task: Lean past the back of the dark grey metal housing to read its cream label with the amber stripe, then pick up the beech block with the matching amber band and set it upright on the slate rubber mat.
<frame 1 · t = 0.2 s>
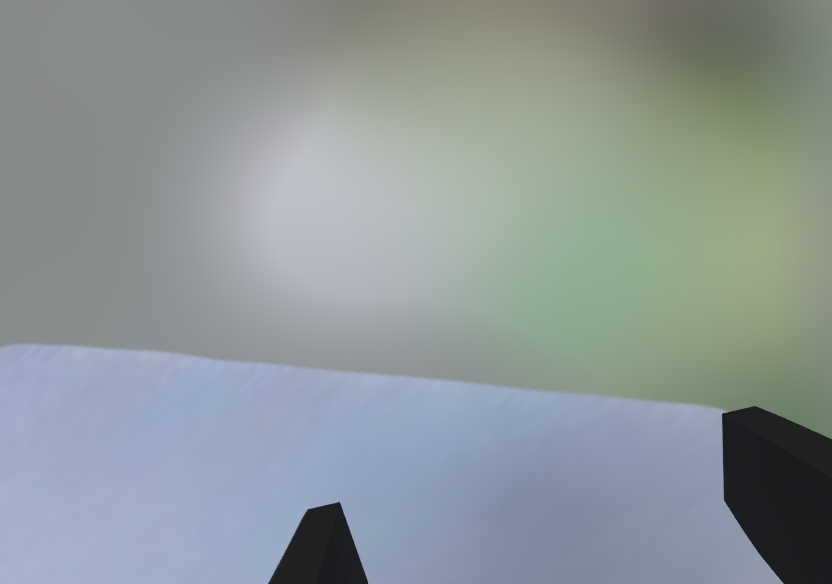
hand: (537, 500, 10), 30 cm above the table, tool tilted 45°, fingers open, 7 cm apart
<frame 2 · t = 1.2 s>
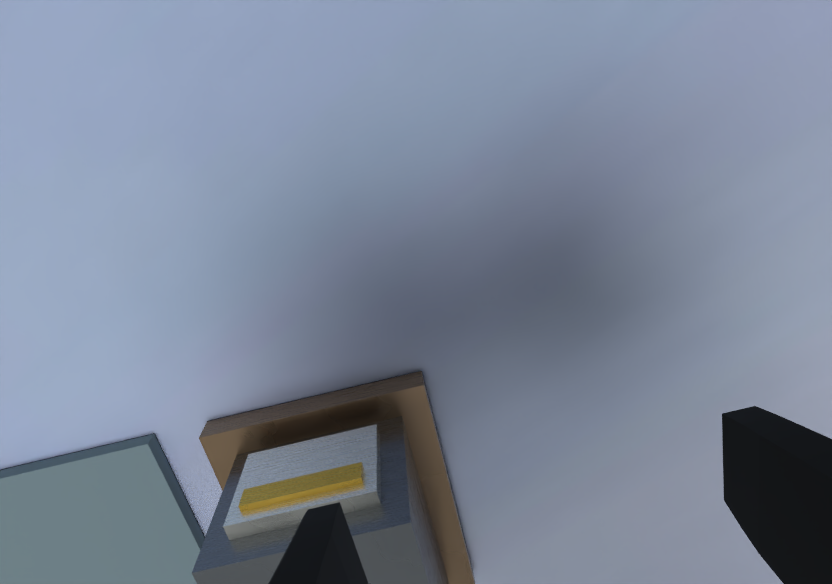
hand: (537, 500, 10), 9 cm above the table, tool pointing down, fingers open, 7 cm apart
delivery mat: (82, 564, 22), on the table
mounted unit: (350, 502, 21), on the table
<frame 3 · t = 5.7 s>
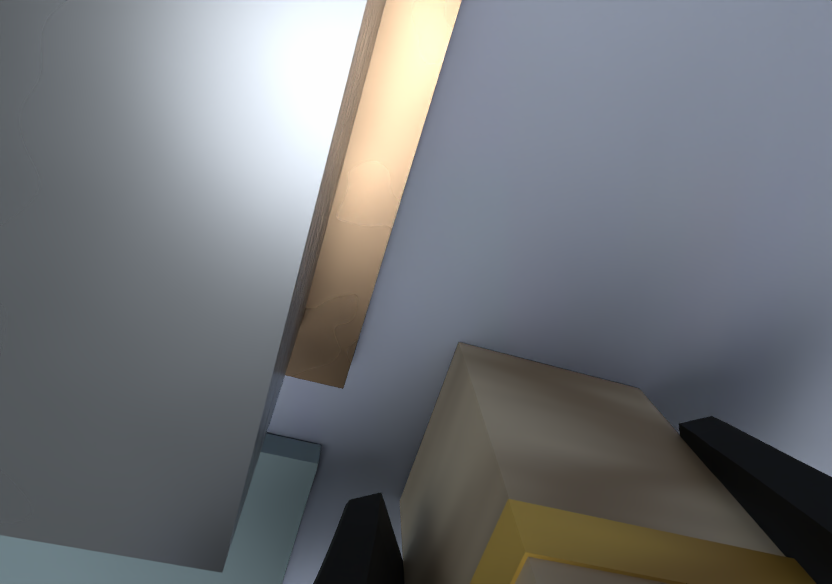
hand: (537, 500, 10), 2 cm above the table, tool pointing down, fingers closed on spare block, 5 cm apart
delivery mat: (43, 580, 12), on the table
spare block: (516, 446, 12), on the table, touching gripper
mounted unit: (100, 66, 8), on the table
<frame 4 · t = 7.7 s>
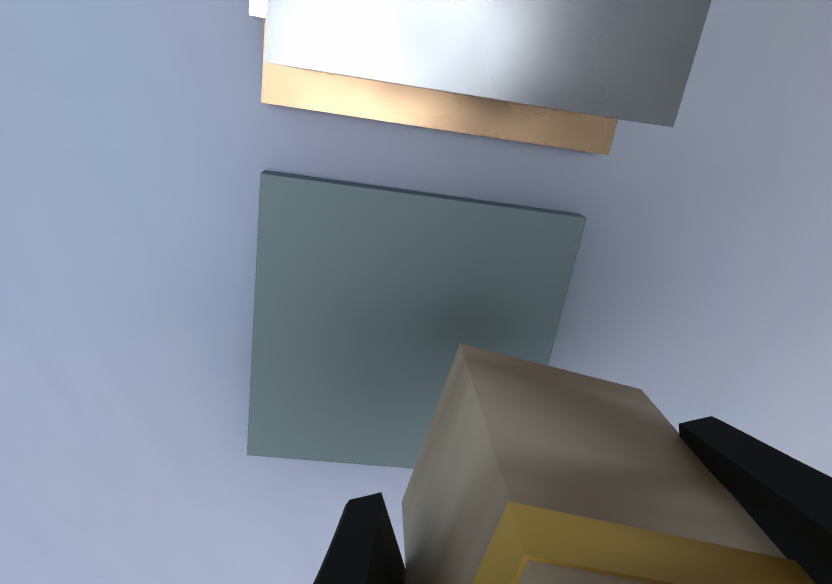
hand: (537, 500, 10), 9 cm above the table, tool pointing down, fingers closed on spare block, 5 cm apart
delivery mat: (404, 336, 19), on the table
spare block: (518, 447, 12), point 7 cm above the table, touching gripper
when the fingers open (3 cm above the table, at t = 9.8 s): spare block stays where it is, resting on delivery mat.
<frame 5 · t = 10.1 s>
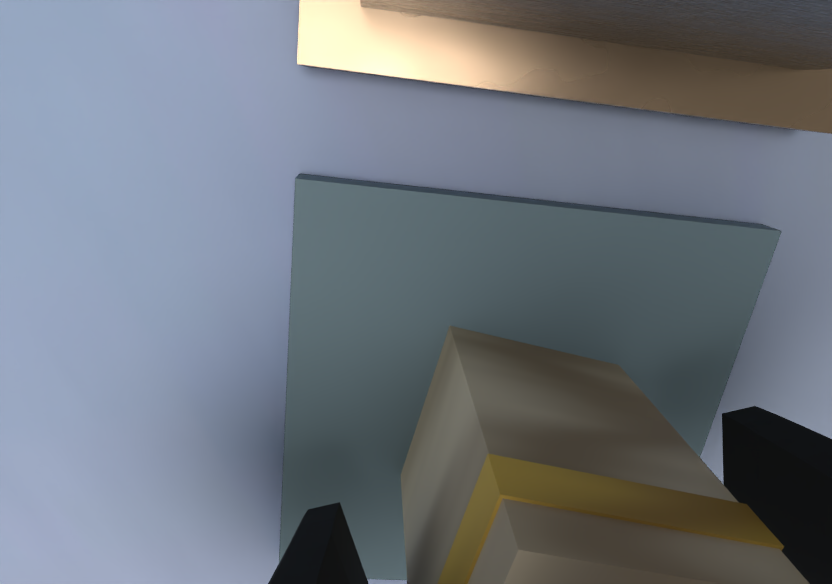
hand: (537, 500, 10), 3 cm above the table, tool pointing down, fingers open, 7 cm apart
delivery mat: (500, 405, 13), on the table
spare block: (506, 421, 13), point 1 cm above the table, touching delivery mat
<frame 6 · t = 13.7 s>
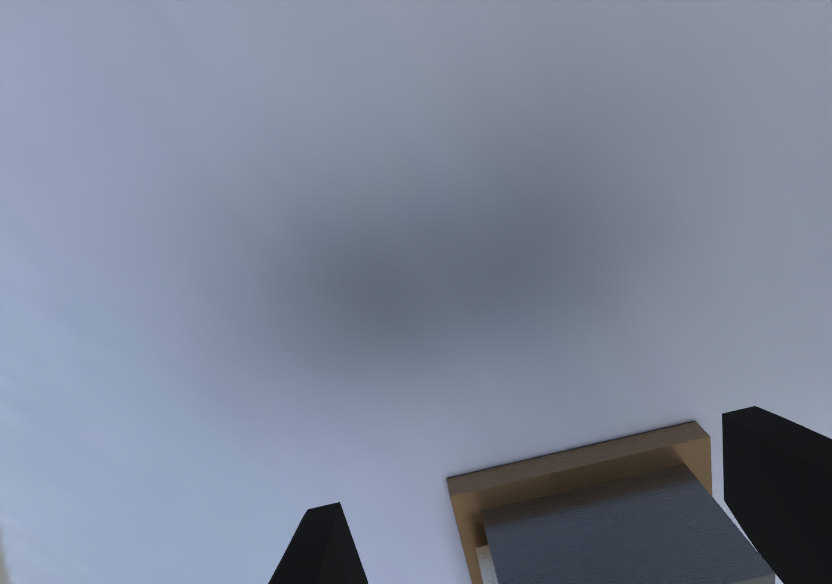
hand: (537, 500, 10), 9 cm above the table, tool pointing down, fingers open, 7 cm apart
mounted unit: (581, 526, 23), on the table
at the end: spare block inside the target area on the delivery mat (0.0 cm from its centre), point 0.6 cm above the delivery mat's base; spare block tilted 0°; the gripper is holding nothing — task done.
